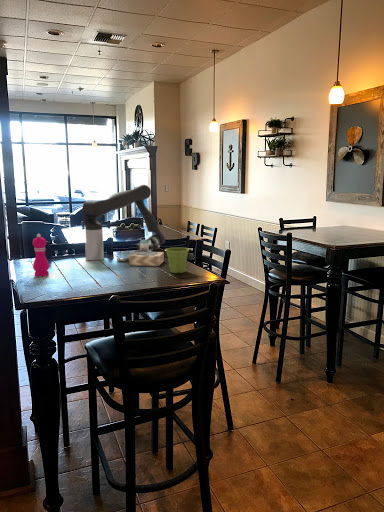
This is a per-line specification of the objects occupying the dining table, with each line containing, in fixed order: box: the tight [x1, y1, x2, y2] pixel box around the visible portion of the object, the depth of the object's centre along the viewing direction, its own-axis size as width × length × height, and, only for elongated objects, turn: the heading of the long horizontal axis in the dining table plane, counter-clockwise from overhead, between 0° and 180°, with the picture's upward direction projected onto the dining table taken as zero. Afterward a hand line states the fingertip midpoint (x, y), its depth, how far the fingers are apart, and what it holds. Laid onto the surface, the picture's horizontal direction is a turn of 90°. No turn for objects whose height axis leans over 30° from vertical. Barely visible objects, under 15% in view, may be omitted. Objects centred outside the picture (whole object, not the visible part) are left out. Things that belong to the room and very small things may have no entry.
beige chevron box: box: [128, 251, 165, 267], centre depth 224 cm, size 16×13×5 cm
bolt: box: [117, 255, 130, 263], centre depth 228 cm, size 8×3×3 cm, turn 103°
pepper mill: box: [32, 233, 50, 278], centre depth 195 cm, size 7×7×20 cm
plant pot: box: [164, 247, 190, 274], centre depth 201 cm, size 12×12×11 cm
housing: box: [139, 239, 152, 252], centre depth 237 cm, size 5×7×10 cm
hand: (144, 248), depth 235 cm, fingers closed on housing, 5 cm apart
